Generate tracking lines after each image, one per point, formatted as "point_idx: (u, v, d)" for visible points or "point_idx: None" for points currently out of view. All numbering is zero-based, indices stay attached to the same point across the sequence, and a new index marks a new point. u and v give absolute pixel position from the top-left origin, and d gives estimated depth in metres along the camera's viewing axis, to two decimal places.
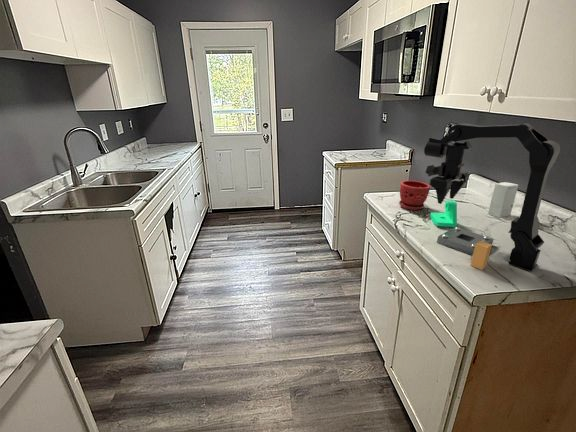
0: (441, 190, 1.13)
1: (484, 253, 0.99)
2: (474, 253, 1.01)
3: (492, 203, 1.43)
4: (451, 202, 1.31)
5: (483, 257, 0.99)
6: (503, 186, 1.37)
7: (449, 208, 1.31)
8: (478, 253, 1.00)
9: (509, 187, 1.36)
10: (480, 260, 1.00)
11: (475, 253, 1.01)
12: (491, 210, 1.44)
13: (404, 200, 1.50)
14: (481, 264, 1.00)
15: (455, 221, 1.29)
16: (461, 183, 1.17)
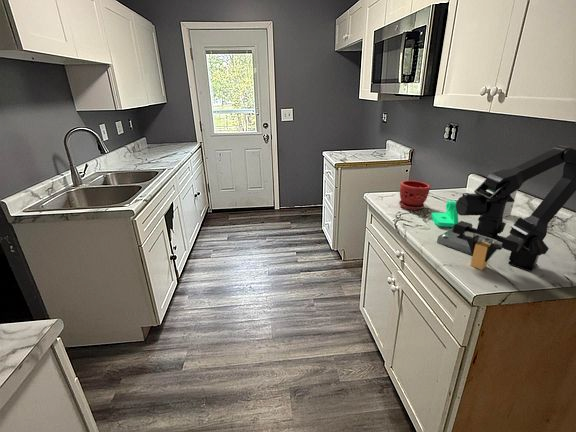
0: None
1: (484, 253, 0.99)
2: (474, 253, 1.01)
3: None
4: (452, 202, 1.31)
5: (483, 257, 0.99)
6: None
7: (450, 208, 1.31)
8: (478, 253, 1.00)
9: None
10: (480, 260, 1.00)
11: (475, 253, 1.01)
12: None
13: (404, 200, 1.50)
14: (481, 264, 1.00)
15: (456, 221, 1.29)
16: (490, 246, 0.96)
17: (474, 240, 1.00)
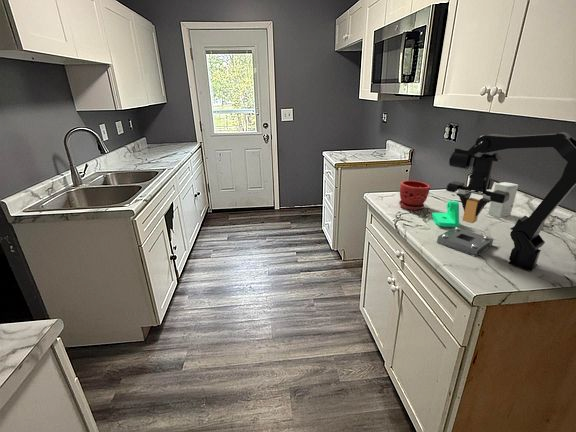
0: None
1: (475, 208, 1.10)
2: (466, 208, 1.12)
3: (492, 203, 1.43)
4: (453, 202, 1.31)
5: (474, 211, 1.10)
6: (503, 186, 1.37)
7: (451, 208, 1.31)
8: (469, 208, 1.11)
9: (509, 187, 1.36)
10: (471, 214, 1.11)
11: (467, 208, 1.12)
12: (491, 210, 1.44)
13: (404, 200, 1.50)
14: (472, 218, 1.11)
15: (457, 221, 1.29)
16: None
17: (466, 196, 1.11)
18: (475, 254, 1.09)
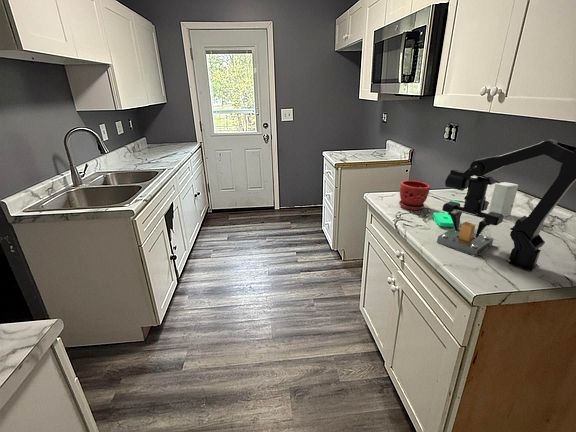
0: None
1: (469, 232, 1.13)
2: (460, 232, 1.16)
3: (492, 203, 1.43)
4: None
5: (468, 235, 1.14)
6: (503, 186, 1.37)
7: None
8: (464, 232, 1.15)
9: (509, 187, 1.36)
10: (465, 238, 1.15)
11: (461, 232, 1.16)
12: (491, 210, 1.44)
13: (404, 200, 1.50)
14: None
15: None
16: None
17: (456, 216, 1.16)
18: (475, 254, 1.09)
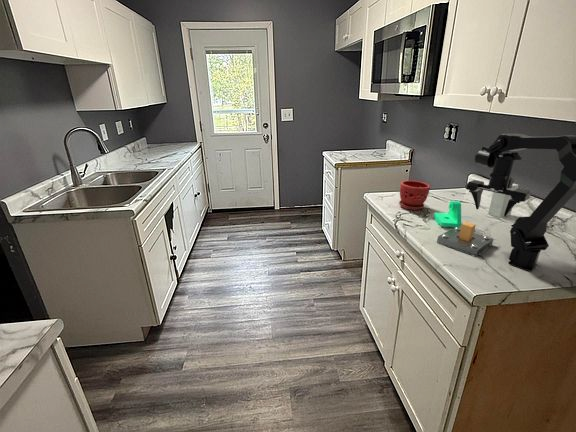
0: None
1: (469, 232, 1.13)
2: (460, 232, 1.16)
3: (492, 203, 1.43)
4: (455, 202, 1.31)
5: (468, 235, 1.14)
6: None
7: (453, 208, 1.31)
8: (464, 232, 1.15)
9: None
10: (465, 238, 1.15)
11: (461, 232, 1.16)
12: (491, 210, 1.44)
13: (404, 200, 1.50)
14: None
15: (459, 221, 1.29)
16: (509, 200, 1.07)
17: (478, 193, 1.15)
18: (475, 254, 1.09)
